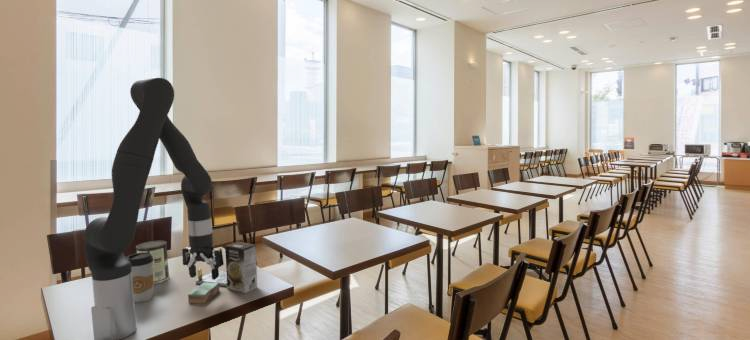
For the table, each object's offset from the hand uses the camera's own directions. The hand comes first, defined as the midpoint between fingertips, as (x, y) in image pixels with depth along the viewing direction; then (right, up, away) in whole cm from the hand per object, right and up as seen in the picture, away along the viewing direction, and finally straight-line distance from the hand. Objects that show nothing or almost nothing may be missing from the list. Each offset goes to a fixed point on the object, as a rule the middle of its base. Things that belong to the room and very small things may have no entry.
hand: (204, 277), depth 135 cm
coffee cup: (-21, -7, -1) cm, 22 cm away
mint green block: (0, -7, 0) cm, 7 cm away
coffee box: (+11, -6, +7) cm, 14 cm away
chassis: (0, -5, +15) cm, 16 cm away
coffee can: (-26, -5, +16) cm, 31 cm away
